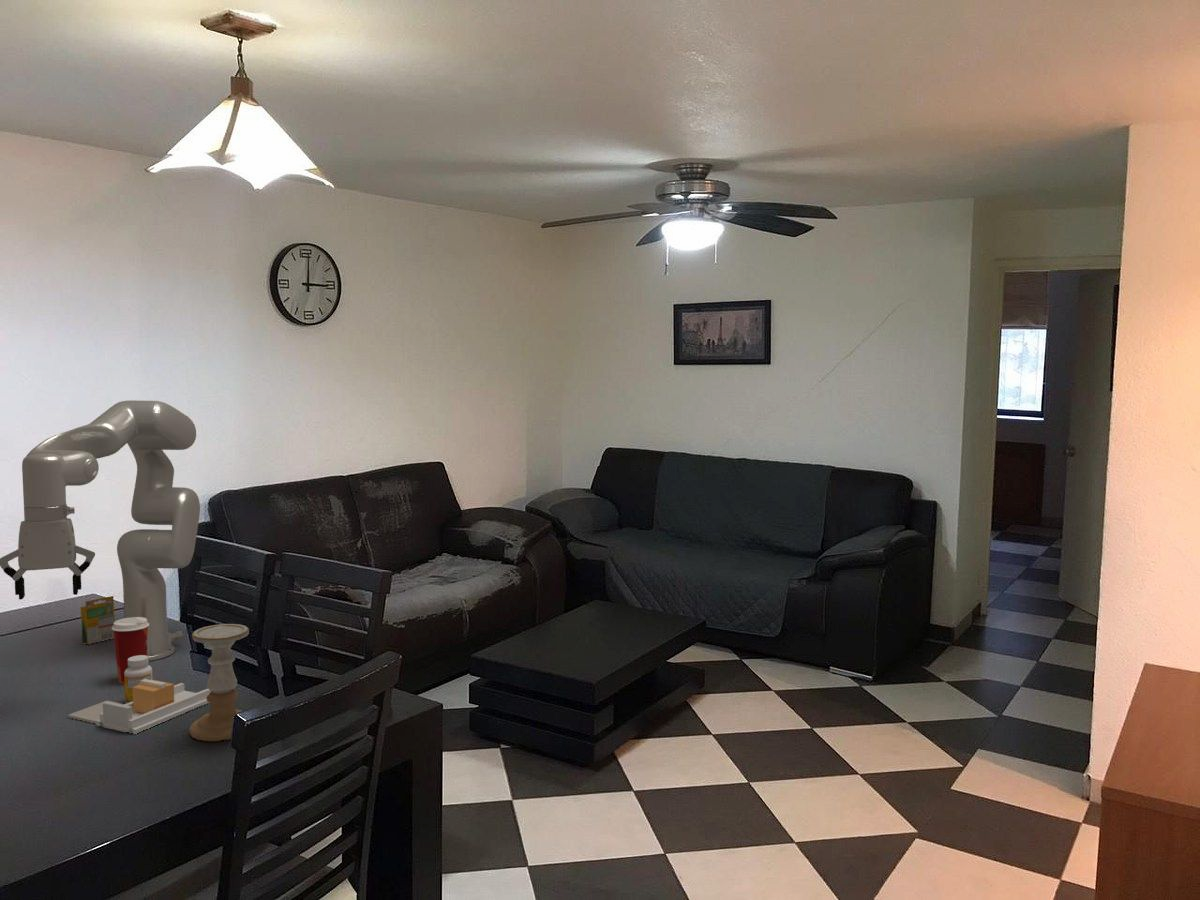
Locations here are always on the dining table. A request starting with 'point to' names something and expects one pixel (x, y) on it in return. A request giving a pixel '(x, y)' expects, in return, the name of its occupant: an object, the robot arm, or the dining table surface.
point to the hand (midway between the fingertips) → (49, 595)
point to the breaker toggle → (152, 695)
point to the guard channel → (136, 721)
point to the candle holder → (219, 681)
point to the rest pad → (89, 713)
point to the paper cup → (129, 641)
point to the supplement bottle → (136, 674)
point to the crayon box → (97, 620)
